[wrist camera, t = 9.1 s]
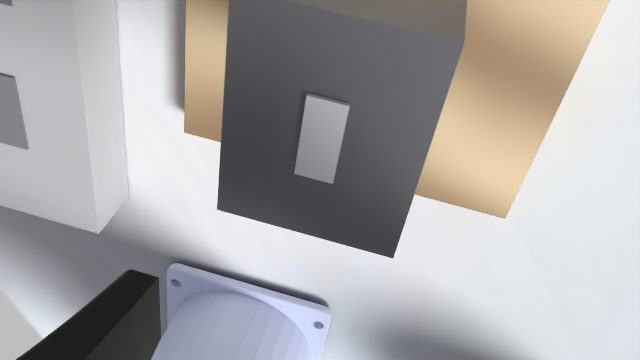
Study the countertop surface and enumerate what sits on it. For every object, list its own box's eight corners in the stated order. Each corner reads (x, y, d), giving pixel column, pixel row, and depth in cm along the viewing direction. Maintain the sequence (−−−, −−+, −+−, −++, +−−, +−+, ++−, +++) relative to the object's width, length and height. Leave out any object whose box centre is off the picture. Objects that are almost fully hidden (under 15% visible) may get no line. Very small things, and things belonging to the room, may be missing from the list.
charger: (422, 100, 18) (392, 261, 12) (301, 70, 18) (215, 212, 12) (471, -63, 15) (464, 44, 9) (325, -96, 15) (227, -12, 9)
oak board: (504, 201, 21) (505, 218, 20) (195, 119, 22) (184, 132, 21) (683, -182, 13) (696, -180, 13) (205, -278, 14) (189, -281, 14)
